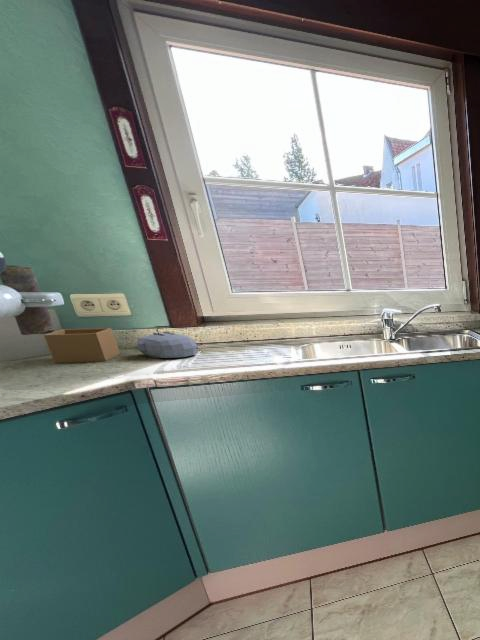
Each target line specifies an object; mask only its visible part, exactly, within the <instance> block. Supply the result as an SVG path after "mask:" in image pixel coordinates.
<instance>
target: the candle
mask: <svg viewBox="0 0 480 640" xmlns="http://www.w3.org/2000/svg"><path fill="white" fill-rule="evenodd" d="M0 281H1V283H2V285H4V286H7V287H10V288H12V289H14V290H16V291H17V292H42V291H41V288H40V285H39V282H38V280H37V277H36V274H35V270H34V268H33V267H31V266H30V267H27V266H20V265H14V264H12V265H11V264H6V270H5V271H4V272H2V273H0ZM14 319H15V322H16V324H17V328H18V330H19V332H20V335H21V336H31V335H46V334H49V333H53V332H56V327H55V326H54V323H53V319H52V317H51V314H50V312H49V309H48V307H25V310H24V311H23V312H22V313H21V314H20V315H17V316H14Z"/></svg>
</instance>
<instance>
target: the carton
mask: <svg viewBox="0 0 480 640" xmlns="http://www.w3.org/2000/svg"><path fill="white" fill-rule="evenodd" d="M43 337H44V339H45V342H46V344H47V348H48V350H49V352H50V354H51V358H52V361H53V362H54V364H68V363H69V364H70V363H89V362H90V363H91V362H106V361H108V360H111V359H112V358H115V357H118V356H119V355H120V354H121V352H120V349H119V346H118V343H117V340H116V338H115V335H114V331H113V329H112V327H106V328H105V327H104V328H102V327H101V328H67V329H66V328H65V329H64V328H63V329H60V330H55V331H53V332H52V333H47V334H43Z"/></svg>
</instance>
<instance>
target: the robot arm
mask: <svg viewBox="0 0 480 640" xmlns="http://www.w3.org/2000/svg"><path fill="white" fill-rule="evenodd" d="M6 265H7V260H6V257H5V255H4V254H3V253H2V252H1V251H0V273H2V272H4V271H5V270H6ZM63 305H65V301H64V297H63V295H62V293H61V292H54V291H51V292H50V291H49V292H47V291H45V292H44V291H41V292H17V291H16V290H14V289H12V288H10V287H7V286H4V285H3V284H0V320H5V319H9V318H13V317H14V318H15V316H17V315H20V314H21V313H22V312H23V311H24V310H25V307H47V308H49V307H56V306H57V307H58V306H63Z"/></svg>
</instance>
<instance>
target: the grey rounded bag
mask: <svg viewBox="0 0 480 640" xmlns="http://www.w3.org/2000/svg"><path fill="white" fill-rule="evenodd" d="M136 346H137V347H138V350H139V351H140V353H141V354H143V355H145V356H146V357H149V358H153V359H182V358H186V357H191V356H195V355H197V354H198V343H197V342H196V341H195V340H194V339H192V338H191V337H190V336H189V335H185V334H180V333H174V332H170V331H162V333H161V332H152V334H149V335H145V336H141V337H138V339H137V341H136Z"/></svg>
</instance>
